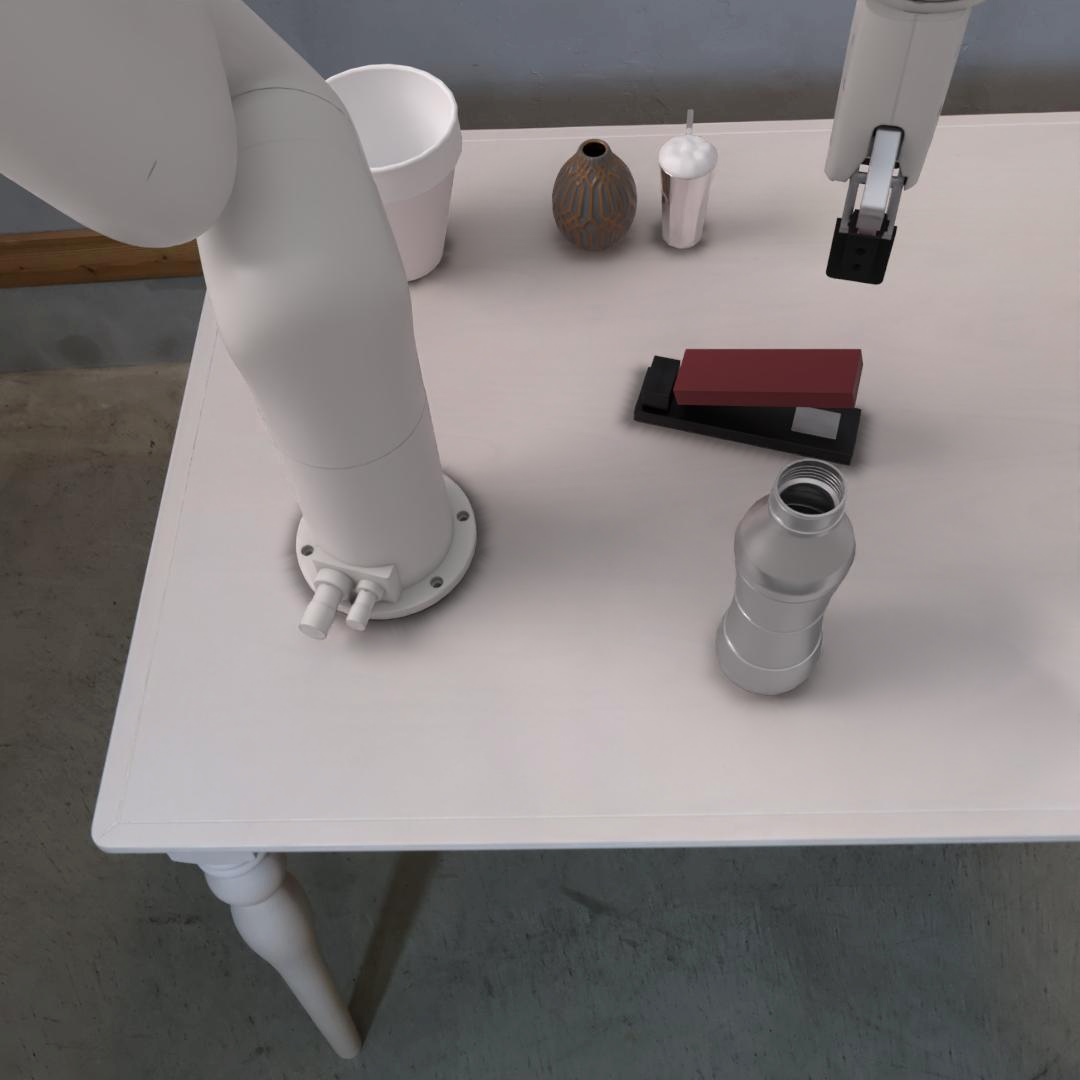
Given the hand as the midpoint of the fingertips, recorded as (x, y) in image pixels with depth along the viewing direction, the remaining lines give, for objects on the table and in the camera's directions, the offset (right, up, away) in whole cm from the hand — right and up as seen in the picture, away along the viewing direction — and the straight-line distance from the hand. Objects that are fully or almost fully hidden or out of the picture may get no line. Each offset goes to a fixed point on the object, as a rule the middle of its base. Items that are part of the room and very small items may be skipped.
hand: (865, 218), depth 66 cm
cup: (-31, +5, +28) cm, 42 cm away
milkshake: (-7, +7, +28) cm, 30 cm away
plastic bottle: (-5, -27, +7) cm, 28 cm away
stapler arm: (-3, -8, +13) cm, 16 cm away
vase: (-15, +7, +28) cm, 32 cm away
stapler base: (-4, -10, +17) cm, 20 cm away
